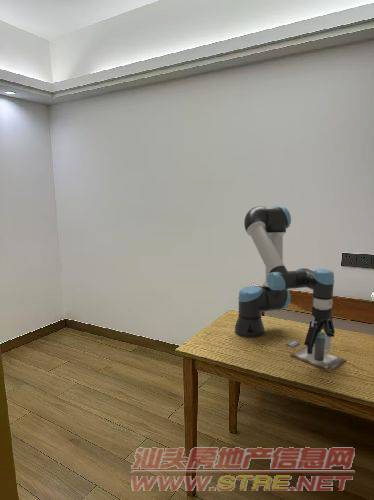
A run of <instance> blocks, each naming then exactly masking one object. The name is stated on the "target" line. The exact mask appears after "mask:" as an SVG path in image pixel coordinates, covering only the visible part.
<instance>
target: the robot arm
mask: <svg viewBox="0 0 374 500" xmlns="http://www.w3.org/2000/svg"><path fill="white" fill-rule="evenodd" d="M243 222H244V225H243V226H244V230H245V232H246V233H247V235H248V236H249V237H251V239H252V241H253V243H254V246H255V247H256V249H257V251H258V253H259V256H260V258H261V260H262V262H263V264H264V266H265V282H263V283H262V287H260V286H258V285H249V286H245V287H243V288H241V289H240V290H239V292H238V299H237V300H238V317H237V320H236V324H235V325H234V333H235V334H236V335H238V336H240V337H244V338H251V339H253V338H255V339H256V338H259V337H262V336H264V335H265V326H264V323H263V319H262V314H263V313H265V312H271V311H281V310H285V309H286V308H288V306H290V303H291V292H290V290H291V289H303V288H306V289H307V288H308V289H311V290H312V303H311V306H312V307H311V309H312V310H311V315H312V317H314V318H313V319H314V320H313V321H312V320H311V321H309V327H308V330H307V334H306V336H305V341H304V346H305V347H306V346H308V348H307V360H309V361H312V362H314V352H315V346H314V345H315V341H316V339H317V337H318V334H319V333H320V332H322V330H323V331H324V333H325V334H326V335H325V350H324V351H325V352H326V351H327V352H328V353H329V352H330V353H331V349H332V337H333V338H334V337H335V333H336V332H335V331H336V330H335V327H334V322H333V314H332V313H333V312H332V311H333V310H332V307H333V305H334V304H333V303H334V302H333V296H334V283H335V272H333V271H332V270H330V269H326V268H318V269H315V270H311V269H309V268H306V267H305V268H304V267H300V268H298V269H297V270H288V269H287V267H286V266H285V263H284V255H283V254H284V247H283V246H284V245H283V244H284V238H283V237H284V235H285V234H286V233H287V229H288V228H289V227H291V226H290V225H291V224H292V217H291V213H290V210H288V208H287V207H286V206H283V205H267V206H265V205H264V206H263V205H261V206H260V205H257V206H254V207H252V208H251V209H250V210H248V211H247V213H246V215H245V216H244V221H243Z"/></svg>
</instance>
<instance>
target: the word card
mask: <svg viewBox="0 0 374 500" xmlns="http://www.w3.org/2000/svg"><path fill="white" fill-rule="evenodd" d="M284 344H285V346H288V347H290V348H295V347H297V346H298V345H301V342H299V341H296V340H294V339H292V340H290V341H288V342H285V343H284Z"/></svg>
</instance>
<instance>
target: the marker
mask: <svg viewBox="0 0 374 500" xmlns="http://www.w3.org/2000/svg"><path fill="white" fill-rule="evenodd" d="M325 335H326V333H325V332H322V331H321V332H320V333H319V334H318V337H317V339H316V341H315V344H314V346H315V352H314V361H315V362H317V363H323V362H324V352H325V351H326V350H325Z"/></svg>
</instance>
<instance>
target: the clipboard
mask: <svg viewBox="0 0 374 500" xmlns="http://www.w3.org/2000/svg"><path fill="white" fill-rule="evenodd" d="M307 348H308V346H306V345H305V346H304V347H302V348H301V349H298V350H297V351H295V352H293V353H291V354H290V357H291V358H295V359H296V360H299V361H301V362H304V363H306V364H308V365H311V366H313V367H315V368H318V369H321V370H322V371H325V372H328V373H331V372H333V371H334V370H336V369H337V368H338V367H340V366H341V365H342V364H344V363H346V362H347V359H345V358H342V357H340V356H336V355H334V354H332V353H329V352H328V351H327V352H326V351H324V362H323V363H317V362H315V361H314V362H312V361H309V360H307Z"/></svg>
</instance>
